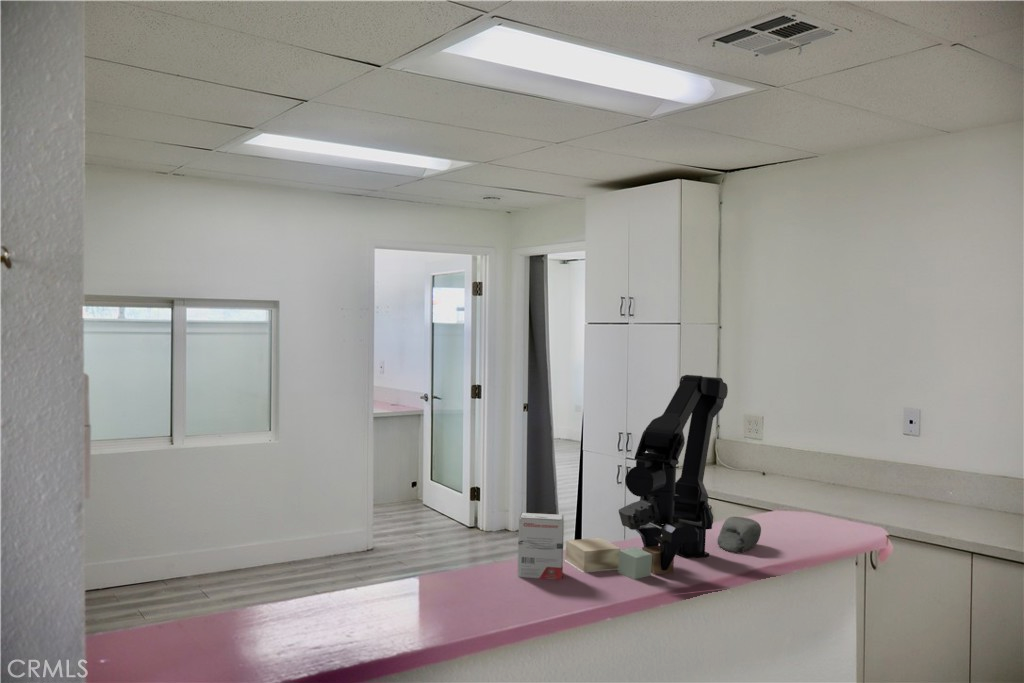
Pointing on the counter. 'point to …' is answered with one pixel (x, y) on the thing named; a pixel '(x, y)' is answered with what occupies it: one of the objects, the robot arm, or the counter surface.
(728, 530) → the stone
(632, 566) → the sage block
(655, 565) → the walnut cube
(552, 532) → the ink box
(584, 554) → the birch base block
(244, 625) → the counter surface
